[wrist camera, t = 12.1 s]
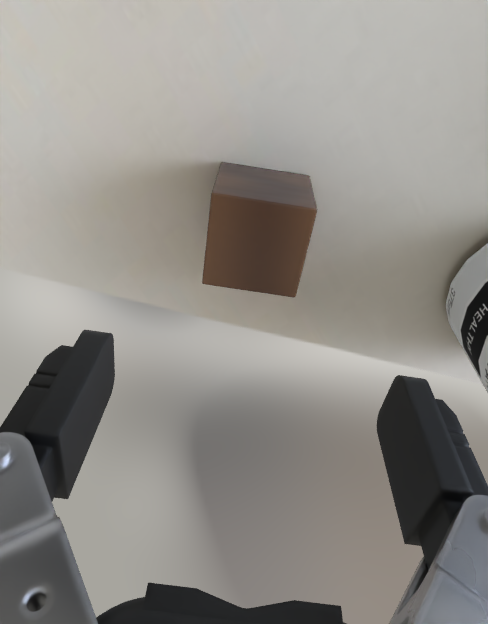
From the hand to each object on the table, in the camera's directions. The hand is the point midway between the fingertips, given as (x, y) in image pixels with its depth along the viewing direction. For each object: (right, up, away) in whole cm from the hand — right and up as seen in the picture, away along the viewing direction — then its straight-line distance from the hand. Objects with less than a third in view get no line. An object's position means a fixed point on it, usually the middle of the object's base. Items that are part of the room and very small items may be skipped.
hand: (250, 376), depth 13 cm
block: (+1, +7, +10) cm, 13 cm away
